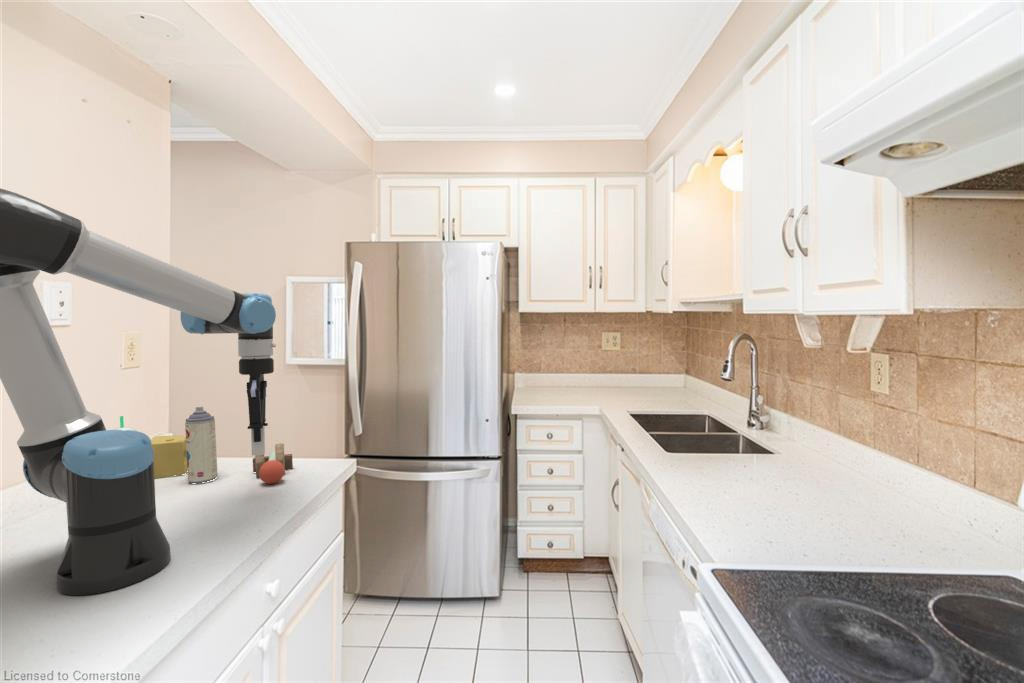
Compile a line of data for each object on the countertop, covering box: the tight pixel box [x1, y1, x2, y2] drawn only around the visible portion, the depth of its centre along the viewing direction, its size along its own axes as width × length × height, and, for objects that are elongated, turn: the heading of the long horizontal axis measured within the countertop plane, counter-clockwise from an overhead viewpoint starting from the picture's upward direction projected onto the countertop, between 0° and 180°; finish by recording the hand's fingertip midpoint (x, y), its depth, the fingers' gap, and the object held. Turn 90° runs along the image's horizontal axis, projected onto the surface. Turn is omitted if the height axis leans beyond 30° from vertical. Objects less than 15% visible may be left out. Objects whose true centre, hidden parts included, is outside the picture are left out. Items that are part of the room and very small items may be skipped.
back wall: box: [252, 453, 294, 473], centre depth 141 cm, size 2×10×4 cm, turn 109°
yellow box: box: [150, 435, 188, 479], centre depth 141 cm, size 10×11×10 cm
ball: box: [259, 460, 285, 485], centre depth 130 cm, size 6×6×6 cm
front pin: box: [268, 449, 276, 461], centre depth 137 cm, size 2×2×8 cm
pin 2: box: [274, 443, 286, 476], centre depth 137 cm, size 2×2×8 cm
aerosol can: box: [184, 406, 219, 484], centre depth 133 cm, size 7×7×20 cm
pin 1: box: [254, 454, 265, 479], centre depth 135 cm, size 2×2×8 cm
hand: (258, 454), depth 120 cm, fingers closed
